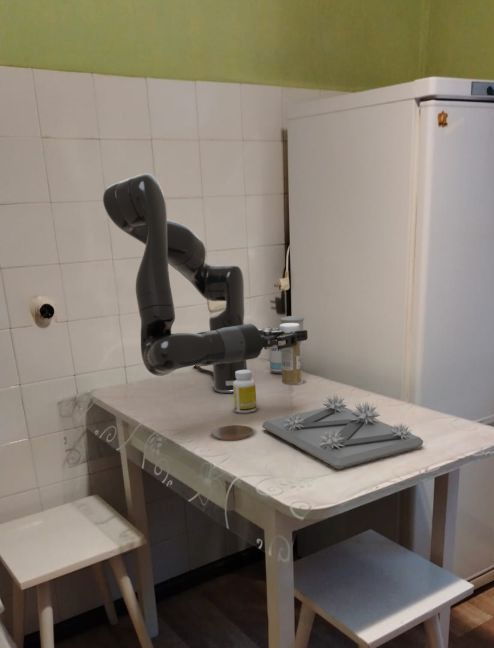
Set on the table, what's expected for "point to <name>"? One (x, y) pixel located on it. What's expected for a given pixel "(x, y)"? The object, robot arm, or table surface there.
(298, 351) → the sprinkles bottle
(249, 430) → the coaster
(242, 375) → the supplement bottle
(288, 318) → the chalice
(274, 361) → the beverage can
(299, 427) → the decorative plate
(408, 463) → the table surface
